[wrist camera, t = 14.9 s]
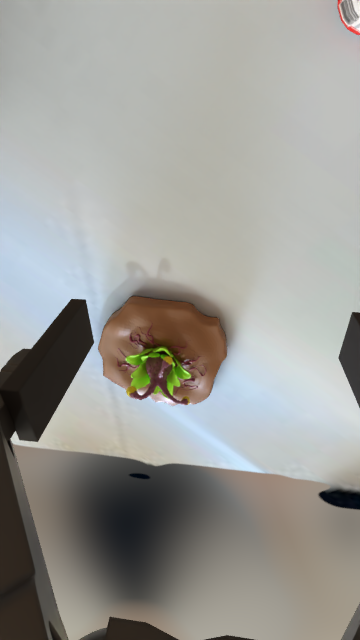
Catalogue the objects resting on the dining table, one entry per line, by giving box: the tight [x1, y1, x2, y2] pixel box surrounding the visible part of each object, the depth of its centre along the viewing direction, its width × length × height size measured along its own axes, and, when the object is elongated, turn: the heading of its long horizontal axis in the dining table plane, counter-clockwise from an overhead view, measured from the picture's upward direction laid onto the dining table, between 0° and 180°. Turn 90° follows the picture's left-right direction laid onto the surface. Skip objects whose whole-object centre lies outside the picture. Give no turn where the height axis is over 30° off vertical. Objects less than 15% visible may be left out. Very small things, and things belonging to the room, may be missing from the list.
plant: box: [98, 296, 227, 406], centre depth 50 cm, size 20×20×11 cm
